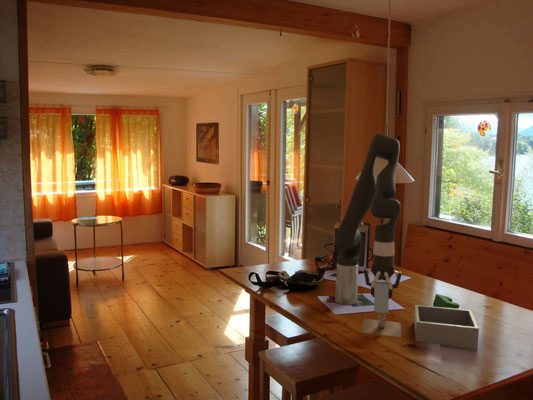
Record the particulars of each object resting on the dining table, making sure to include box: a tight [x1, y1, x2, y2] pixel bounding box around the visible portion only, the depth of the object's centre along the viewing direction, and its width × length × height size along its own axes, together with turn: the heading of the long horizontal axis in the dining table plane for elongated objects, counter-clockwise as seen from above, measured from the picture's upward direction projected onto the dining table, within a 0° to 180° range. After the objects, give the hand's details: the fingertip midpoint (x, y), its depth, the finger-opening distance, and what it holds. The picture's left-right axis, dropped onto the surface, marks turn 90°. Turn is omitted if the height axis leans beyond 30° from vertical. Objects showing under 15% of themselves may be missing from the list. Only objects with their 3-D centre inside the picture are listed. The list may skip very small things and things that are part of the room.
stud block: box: [361, 313, 402, 338], centre depth 175 cm, size 14×14×6 cm
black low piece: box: [277, 263, 329, 287], centre depth 231 cm, size 22×30×8 cm
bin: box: [413, 304, 480, 352], centre depth 169 cm, size 20×18×8 cm
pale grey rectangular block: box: [373, 280, 390, 314], centre depth 174 cm, size 5×5×11 cm
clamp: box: [432, 293, 460, 309], centre depth 195 cm, size 12×6×9 cm, turn 176°
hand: (381, 297), depth 174 cm, fingers closed on pale grey rectangular block, 5 cm apart
